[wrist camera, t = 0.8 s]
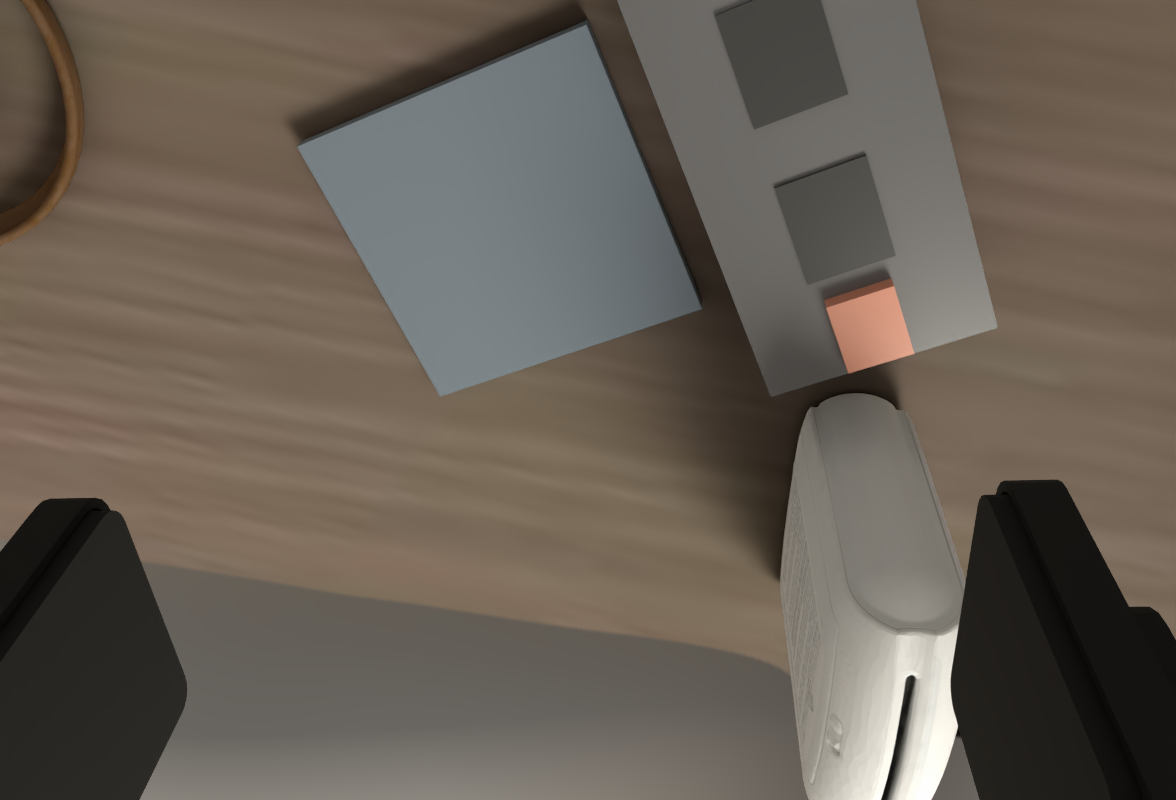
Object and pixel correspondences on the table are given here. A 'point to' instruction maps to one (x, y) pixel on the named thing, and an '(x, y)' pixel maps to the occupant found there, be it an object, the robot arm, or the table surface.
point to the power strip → (818, 176)
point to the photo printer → (869, 605)
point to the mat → (507, 213)
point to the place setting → (46, 198)
